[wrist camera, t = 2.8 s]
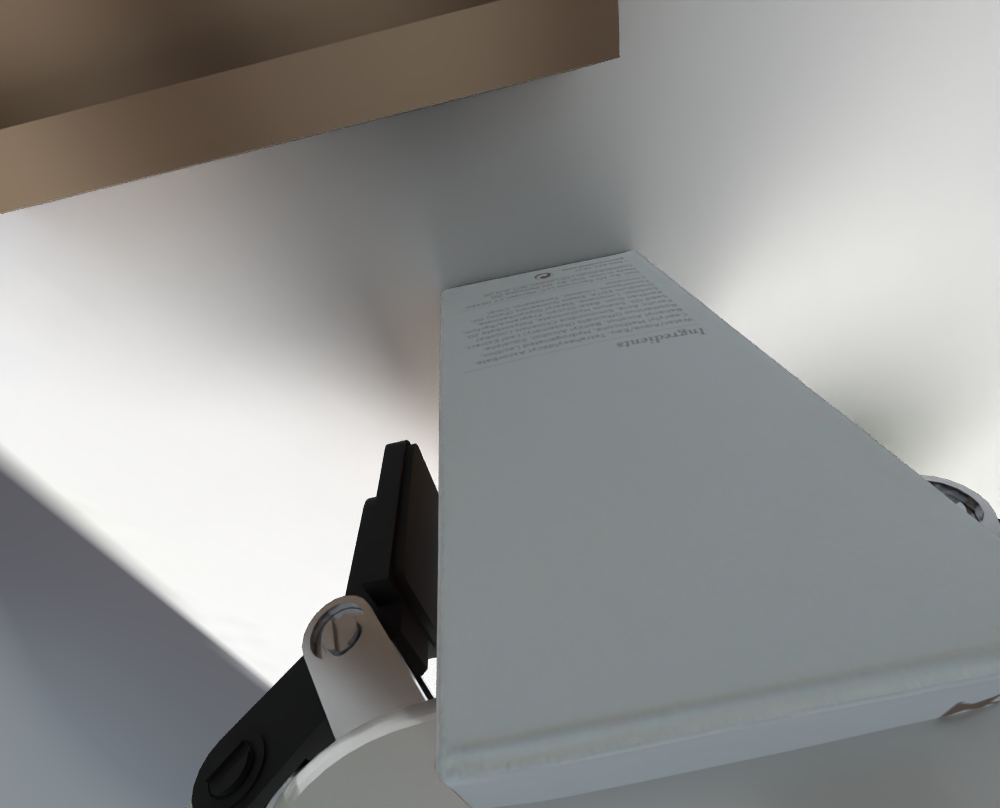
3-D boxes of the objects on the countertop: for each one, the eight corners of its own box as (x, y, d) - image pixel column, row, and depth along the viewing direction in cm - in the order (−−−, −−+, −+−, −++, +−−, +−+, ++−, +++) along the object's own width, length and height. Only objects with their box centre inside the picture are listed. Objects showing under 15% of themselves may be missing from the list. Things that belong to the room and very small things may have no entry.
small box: (438, 284, 12) (412, 786, 3) (638, 244, 11) (1187, 645, 3) (490, 482, 16) (537, 897, 8) (632, 454, 16) (838, 843, 8)
